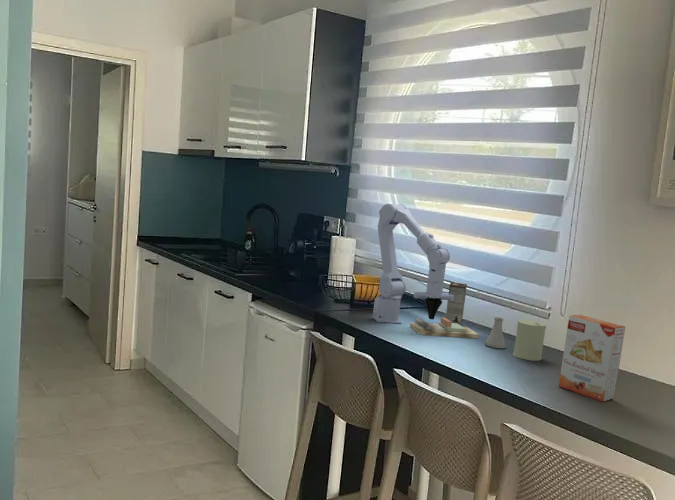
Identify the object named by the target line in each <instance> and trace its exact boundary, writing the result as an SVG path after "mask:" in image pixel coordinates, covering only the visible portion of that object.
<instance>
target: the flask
mask: <svg viewBox="0 0 675 500" xmlns="http://www.w3.org/2000/svg"><path fill="white" fill-rule="evenodd" d="M503 321H504V318H503V317H499V316H495V317H494V323H493V327H492V329H491V331H490V333H489V335H488V337H487V339H486V341H485V343H484V345H485V346H487V347H490V348H494V349H500V350H501V349H505V348H506V343H505V337H504V332H503Z"/></svg>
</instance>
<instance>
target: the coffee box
mask: <svg viewBox="0 0 675 500" xmlns="http://www.w3.org/2000/svg"><path fill="white" fill-rule="evenodd" d="M448 294H449V295H454V300H453V301H450V300H447V302H446V303H447V305H446V311H445V312H446V313H445V318H446V319H448V320H449V321H451V322H452V323H457V324H459V325H461V326H462V323H463V317H464V309H465V302H466V294H467V283H460V282H455V281H454V282H453V281H452V282H450V284H449V289H448Z"/></svg>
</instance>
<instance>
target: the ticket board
mask: <svg viewBox="0 0 675 500" xmlns="http://www.w3.org/2000/svg"><path fill="white" fill-rule="evenodd" d="M461 326H462V325H461ZM409 327H410V329H412V330H413V331H414V332H416V333H419V334H418V335H420V336H432V337H435V336H436V337H447V338H448V337H449V338H463V339H465V338H466V339H479V333H478V332H476V331H475V330H472V329H471V328H470V327H467V326H466V325H465V326H462V327H464V328H465V329H466V332H452V331H446V329H444V328H443V327H441V326H440V325H439V323H430V322H426V320H424V319H422V318H415V319H414V322H410V323H409Z"/></svg>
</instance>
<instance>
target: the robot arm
mask: <svg viewBox="0 0 675 500" xmlns="http://www.w3.org/2000/svg"><path fill="white" fill-rule="evenodd" d="M378 214H379V218H378V223H377V233H378V241H379V248H380V256H381V257H380V259H381V264H382V271H383V273H382V275H380V278H379V286H378V290H379V291H378V292H379V293H380V296H376V297H375V299H374V305H373V313H372V317H371V318H373V320H375V321H376V322H378V323H388V324H389V323H392V324H402V321H401V320H400V319H399V318H400V317H399V316H400V309H401V299H402V297H403V295H404V294H405V293H406V289H407V287H406V283H405V281H404V279H403V276H402V274H401V273H400V271H399V270H398V262H397V255H396V248H395V247H396V246H395V238H394V231H393V230H394V229H395V228H396V227H397V226H398V225H399V224H403V225H404V226H405V228H407V229H408V230H409V231H410V232H411V233H412V235H413V236H414V237H415V238H416V244H417V245H418V246H419V247H420V249H421V250H422V251H423V252H424V253H425V254H426V256H427V258H426V259H427V261H428V264H429V265H428V268H429V269H428V275H427V284H426V291H414V292H413V298H414V299H424V302H425V305H426V309H427V314H428V315H427V316H428V317H427V318H428V319H429V320H432V321H433V320H434V319H435V317H436V314H437V312H438V311H439V309H440V307H441V305H442V304H443V300H444V301H448V300H450V301H453V300H454V295H449V293H443V291H444V283H445V275H446V266H447V264H448V262H449V261H450V257H451V256H450V253H449V251H448V249H447V248H445V247H442V245H441V244H439V243H438V242H437V241H436V239H435V238H434V235H433V234H432V233H429V232H425V231H424V230H423V229H422V227H421V226H420V224H419V223H418V222H417V220H416V219H415V218H414V217H413V216H412V214H411V211H410V210H409V209H408V208H407V206H405V204H395V203H393V204H392V203H386V204H384V205H382V207H381V208H380V209H379V211H378Z"/></svg>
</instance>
